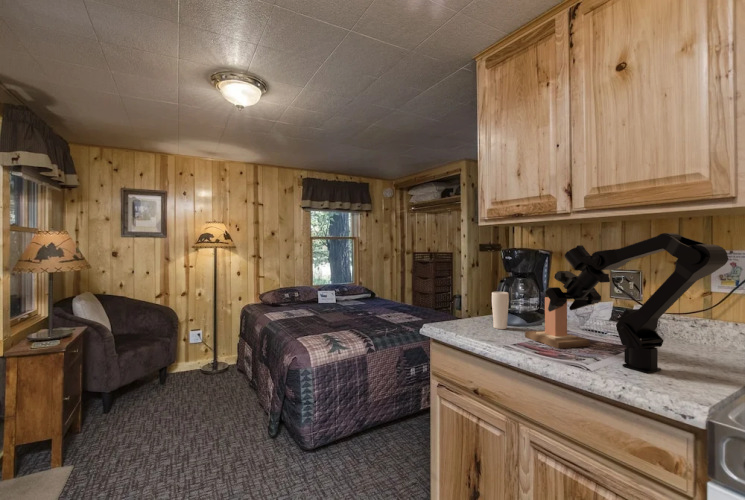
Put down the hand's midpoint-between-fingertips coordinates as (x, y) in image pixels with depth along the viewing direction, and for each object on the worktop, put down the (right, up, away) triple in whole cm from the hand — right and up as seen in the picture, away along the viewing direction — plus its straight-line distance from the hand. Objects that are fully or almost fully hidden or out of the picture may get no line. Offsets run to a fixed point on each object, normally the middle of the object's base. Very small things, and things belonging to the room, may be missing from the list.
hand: (559, 309), depth 123 cm
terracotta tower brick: (0, -9, +2) cm, 9 cm away
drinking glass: (-13, -12, +23) cm, 29 cm away
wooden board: (-1, -12, +2) cm, 12 cm away
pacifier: (+9, -12, +22) cm, 26 cm away
